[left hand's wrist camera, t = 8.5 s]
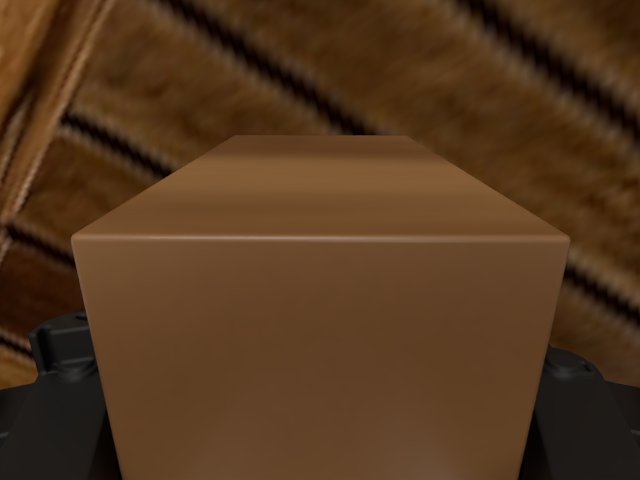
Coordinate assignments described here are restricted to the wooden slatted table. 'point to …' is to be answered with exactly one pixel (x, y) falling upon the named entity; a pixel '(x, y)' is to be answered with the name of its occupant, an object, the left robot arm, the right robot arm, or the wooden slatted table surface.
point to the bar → (320, 315)
